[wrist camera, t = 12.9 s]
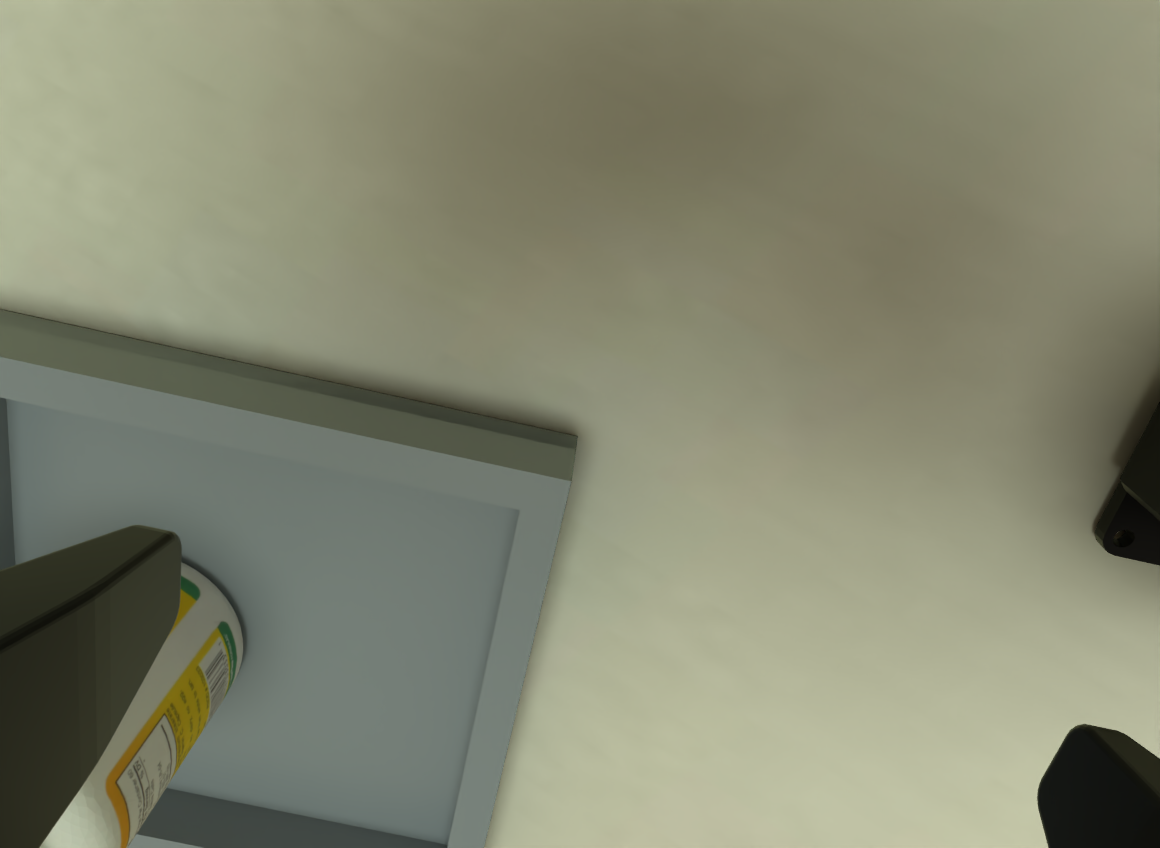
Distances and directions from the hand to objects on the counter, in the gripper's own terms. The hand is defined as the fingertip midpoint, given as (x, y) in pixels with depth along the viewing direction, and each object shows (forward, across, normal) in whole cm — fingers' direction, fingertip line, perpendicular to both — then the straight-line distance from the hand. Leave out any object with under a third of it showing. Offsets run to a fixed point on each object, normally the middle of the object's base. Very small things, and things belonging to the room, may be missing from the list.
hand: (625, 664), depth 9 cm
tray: (+13, +8, +11) cm, 19 cm away
